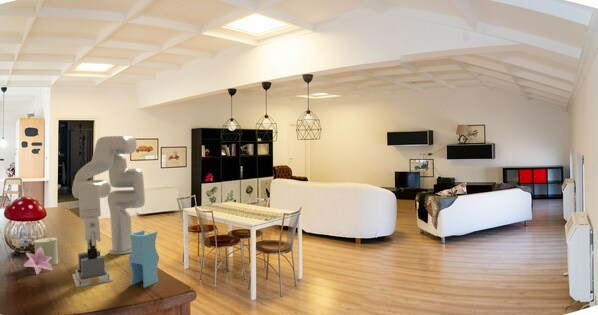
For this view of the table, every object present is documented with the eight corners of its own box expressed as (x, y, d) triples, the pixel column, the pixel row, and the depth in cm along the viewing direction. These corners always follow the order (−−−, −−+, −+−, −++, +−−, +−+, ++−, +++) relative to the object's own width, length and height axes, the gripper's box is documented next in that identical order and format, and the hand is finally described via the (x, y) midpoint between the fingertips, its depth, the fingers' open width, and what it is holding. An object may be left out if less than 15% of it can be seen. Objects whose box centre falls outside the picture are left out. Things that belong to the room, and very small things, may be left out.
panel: (103, 277, 168) (102, 255, 168) (105, 279, 166) (103, 257, 165) (81, 281, 164) (80, 259, 163) (83, 283, 161) (81, 261, 161)
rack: (105, 269, 180) (104, 248, 180) (112, 280, 165) (111, 257, 165) (72, 275, 173) (70, 253, 173) (76, 288, 158) (75, 263, 158)
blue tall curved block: (160, 280, 164) (157, 231, 163) (145, 287, 157) (142, 236, 156) (145, 278, 167) (143, 230, 166) (130, 285, 160) (127, 234, 159)
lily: (18, 280, 173) (27, 261, 171) (17, 263, 181) (25, 245, 180) (49, 281, 181) (58, 263, 180) (47, 265, 189) (54, 248, 188)
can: (47, 267, 186) (46, 241, 185) (30, 266, 187) (28, 241, 187) (63, 261, 195) (61, 236, 194) (46, 260, 196) (45, 236, 196)
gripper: (103, 214, 159) (105, 260, 160) (97, 209, 172) (99, 252, 173) (81, 217, 155) (84, 264, 156) (77, 211, 168) (79, 256, 168)
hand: (92, 258), depth 164 cm, fingers closed
